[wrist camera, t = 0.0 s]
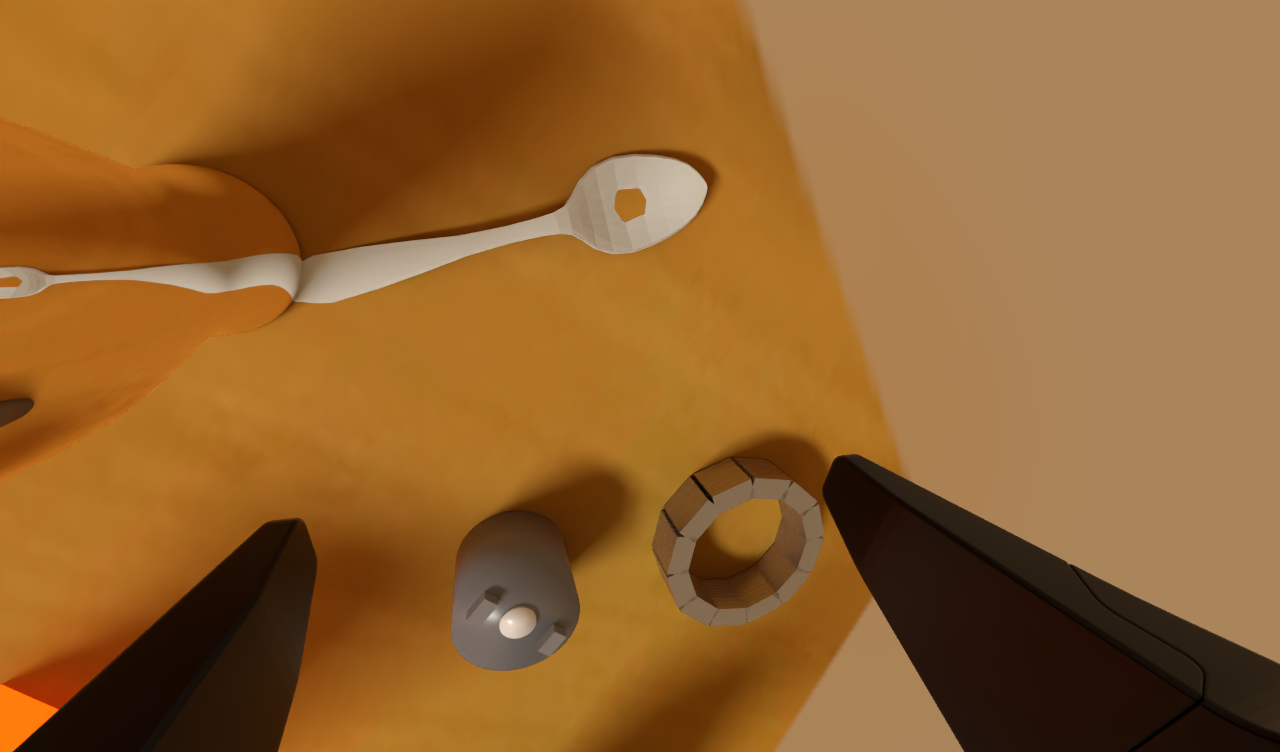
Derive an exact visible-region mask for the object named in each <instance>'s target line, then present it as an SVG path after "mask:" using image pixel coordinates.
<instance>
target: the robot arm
mask: <svg viewBox="0 0 1280 752" xmlns="http://www.w3.org/2000/svg"><path fill="white" fill-rule="evenodd" d="M822 493H823V498H824V500H825V502H826V504H827V506H828V509H829V511H830V513H831V515H832V517H833V519H834V521H835V523H836V526H837V528H838V530H839V532H840V534H841V536H842V538H843V540H844V543H845V545H846V547H847V549H848V551H849V553H850V555H851V557H852V559H853V561H854V563H855V565H856V567H857V569H858V571H859V573H860V575H861V577H862V578H863V580H864V582H865V584H866V585H867V587H868V589H869V590H870V592H871V594H872V596H873V597H874V599H875V601H876V602H877V604H878V606H879V607H880V609H881V611H882V613H883V614H884V616H885V617H886V619H887V621H888V623H889V624H890V626H891V628H892V630H893V631H894V633H895V635H896V636H897V638H898V640H899V641H900V643H901V645H902V647H903V648H904V650H905V651H906V653H907V655H908V657H909V659H910V660H911V662H912V664H913V665H914V667H915V669H916V670H917V672H918V674H919V676H920V677H921V679H922V681H923V682H924V684H925V686H926V687H927V689H928V691H929V692H930V694H931V696H932V698H933V699H934V701H935V703H936V704H937V706H938V708H939V710H940V711H941V713H942V715H943V716H944V718H945V720H946V721H947V723H948V725H949V727H950V728H951V730H952V732H953V733H954V735H955V737H956V739H957V740H958V742H959V744H960V745H961V747H962V749H963V750H964V752H1280V664H1279V663H1277V662H1275V661H1272V660H1270V659H1268V658H1266V657H1264V656H1262V655H1259V654H1257V653H1255V652H1253V651H1251V650H1249V649H1247V648H1244V647H1242V646H1240V645H1238V644H1236V643H1234V642H1231V641H1229V640H1227V639H1225V638H1223V637H1221V636H1218V635H1216V634H1214V633H1212V632H1210V631H1208V630H1206V629H1203V628H1201V627H1199V626H1197V625H1195V624H1192V623H1190V622H1188V621H1186V620H1184V619H1182V618H1179V617H1177V616H1175V615H1173V614H1171V613H1169V612H1167V611H1165V610H1163V609H1161V608H1159V607H1156V606H1154V605H1152V604H1150V603H1148V602H1146V601H1144V600H1142V599H1139V598H1137V597H1135V596H1133V595H1131V594H1129V593H1127V592H1125V591H1123V590H1121V589H1119V588H1117V587H1115V586H1113V585H1111V584H1109V583H1107V582H1105V581H1103V580H1101V579H1099V578H1097V577H1095V576H1093V575H1092V574H1090V573H1087V572H1086V571H1084V570H1082V569H1080V568H1078V567H1076V566H1074V565H1072V564H1068V563H1067V562H1066V561H1064V560H1062V559H1060V558H1058V557H1057V556H1054V555H1053V554H1051V553H1048V552H1047V551H1045V550H1043V549H1041V548H1039V547H1037V546H1035V545H1033V544H1031V543H1029V542H1027V541H1025V540H1023V539H1021V538H1020V537H1018V536H1015V535H1014V534H1012V533H1009V532H1007V531H1006V530H1004V529H1002V528H1000V527H998V526H996V525H994V524H992V523H990V522H988V521H986V520H984V519H983V518H981V517H979V516H977V515H975V514H973V513H971V512H969V511H967V510H965V509H963V508H961V507H959V506H957V505H955V504H953V503H951V502H949V501H947V500H946V499H944V498H942V497H940V496H938V495H936V494H934V493H932V492H930V491H928V490H926V489H924V488H922V487H920V486H918V485H916V484H914V483H913V482H911V481H909V480H907V479H905V478H903V477H901V476H899V475H897V474H895V473H893V472H891V471H889V470H887V469H885V468H883V467H881V466H879V465H878V464H876V463H874V462H872V461H870V460H868V459H866V458H864V457H862V456H860V455H857V454H850V455H841V456H838V457H836V458H835V459H834V461H833V463H832V465H831V467H830V470H829V472H828V475H827V477H826V479H825V482H824V484H823V488H822ZM316 573H317V557H316V553H315V550H314V547H313V544H312V541H311V538H310V535H309V532H308V530H307V527H306V524H305V522H304V521H303V520H302V519H300V518H290V519H282V520H273V521H269V522H267V523H265V524H263V525H262V526H261V527H260V528H259V529H257V530H256V531H255V532H254V533H253V534H252V535H251V536H250V537H249V538H247V539H246V540H245V541H244V542H243V543H242V544H241V545H240V546H239V547H238V548H236V549H235V550H234V551H233V552H232V553H231V554H230V555H229V556H228V557H227V558H225V559H224V560H223V561H222V562H221V563H220V564H219V565H218V566H217V567H215V568H214V569H213V570H212V571H211V572H210V573H209V574H208V575H207V576H206V577H204V578H203V579H202V580H201V581H200V582H199V583H198V584H197V585H196V586H195V587H193V588H192V589H191V590H190V591H189V592H188V593H187V594H186V595H185V596H183V597H182V598H181V599H180V600H179V601H178V602H177V603H176V604H175V605H174V606H172V607H171V608H170V609H169V610H168V611H167V612H166V613H165V614H164V615H163V616H161V617H160V618H159V619H158V620H157V621H156V622H155V623H154V624H153V625H152V626H150V627H149V628H148V629H147V630H146V631H145V632H144V633H143V634H142V635H140V636H139V637H138V638H137V639H136V640H135V641H134V642H133V643H132V644H131V645H129V646H128V647H127V648H126V649H125V650H124V651H123V652H122V653H121V654H120V655H118V656H117V657H116V658H115V659H114V660H113V661H112V662H111V663H110V664H108V665H107V666H106V667H105V668H104V669H103V670H102V671H101V672H100V673H99V674H97V675H96V676H95V677H94V678H93V679H92V680H91V681H90V682H89V683H88V684H86V685H85V686H84V687H83V688H82V689H81V690H80V691H79V692H78V693H76V694H75V695H74V696H73V697H72V698H71V699H70V700H69V701H68V702H67V703H65V704H64V705H63V706H62V707H61V708H60V709H59V710H58V711H57V712H56V713H54V714H53V715H52V716H51V717H50V718H49V719H48V720H47V721H46V722H44V723H43V724H42V725H41V726H40V727H39V728H38V729H37V730H36V731H35V732H33V733H32V734H31V735H30V736H29V737H28V738H27V739H26V740H25V741H24V742H22V743H21V744H20V745H19V746H18V747H17V748H16V749H15V750H14V751H12V752H278V749H279V746H280V743H281V739H282V736H283V732H284V729H285V725H286V722H287V718H288V715H289V711H290V708H291V705H292V701H293V697H294V694H295V690H296V686H297V682H298V677H299V672H300V667H301V662H302V656H303V650H304V644H305V638H306V632H307V626H308V620H309V614H310V608H311V602H312V596H313V591H314V585H315V579H316Z"/></svg>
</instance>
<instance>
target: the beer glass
mask: <svg viewBox="0 0 1280 752" xmlns="http://www.w3.org/2000/svg"><path fill="white" fill-rule="evenodd" d="M301 275H302V259H301V252H300V248H299V245H298V242H297V239H296V237H295V234H294V232H293V230H292V228H291V227H290V225H289V223H288V222H287V220H286V219H285V217H284V216H283V215H282V213H281V212H280V211H279V210H278V209H277V208H276V207H275V206H274V205H273V204H272V203H271V202H270V201H269V200H268V199H267V198H266V197H265V196H264V195H262V194H261V193H260V192H258V191H257V190H256V189H254V188H253V187H251V186H250V185H248V184H246V183H245V182H243V181H241V180H239V179H237V178H235V177H233V176H231V175H228V174H226V173H223V172H220V171H218V170H214V169H211V168H207V167H202V166H196V165H187V164H162V165H153V166H147V167H142V168H136V169H134V168H131V167H128V166H126V165H123V164H121V163H118V162H116V161H114V160H111V159H109V158H107V157H104V156H102V155H99V154H97V153H95V152H92V151H90V150H87V149H85V148H82V147H80V146H77V145H75V144H72V143H70V142H67V141H65V140H62V139H60V138H57V137H55V136H52V135H50V134H47V133H45V132H42V131H40V130H37V129H34V128H31V127H28V126H25V125H22V124H19V123H17V122H14V121H11V120H8V119H5V118H2V117H0V483H1V482H3V481H5V480H7V479H9V478H11V477H13V476H15V475H17V474H19V473H21V472H23V471H25V470H26V469H28V468H30V467H32V466H34V465H36V464H38V463H40V462H42V461H44V460H46V459H48V458H50V457H52V456H54V455H56V454H58V453H60V452H62V451H64V450H65V449H67V448H69V447H70V446H72V445H74V444H75V443H77V442H79V441H80V440H82V439H84V438H85V437H87V436H89V435H90V434H92V433H94V432H95V431H97V430H98V429H100V428H102V427H103V426H105V425H107V424H108V423H110V422H112V421H113V420H115V419H117V418H118V417H120V416H121V415H123V414H124V413H125V412H127V411H128V410H129V409H131V408H132V407H133V406H135V405H136V404H137V403H138V402H139V401H141V400H142V399H143V398H144V397H146V396H147V395H148V394H149V393H151V392H152V391H153V390H154V389H156V388H157V387H158V386H159V385H161V384H162V383H163V382H164V381H165V380H166V379H168V378H169V377H170V376H171V375H172V374H173V373H174V372H175V371H176V370H177V369H178V368H179V367H180V366H181V365H182V364H183V363H184V362H185V361H186V360H187V359H188V358H189V357H190V356H191V355H192V354H193V353H194V352H195V351H196V350H197V349H198V348H199V347H200V346H201V345H202V344H203V343H204V342H205V341H206V340H207V339H209V338H210V337H219V336H229V335H235V334H240V333H245V332H248V331H251V330H254V329H257V328H259V327H262V326H264V325H266V324H268V323H269V322H271V321H273V320H274V319H275V318H277V317H278V316H279V315H280V314H282V313H283V312H284V311H285V310H286V308H287V307H288V306H289V305H290V303H291V302H292V300H293V299H294V297H295V295H296V293H297V291H298V288H299V285H300V281H301Z"/></svg>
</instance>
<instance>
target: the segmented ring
mask: <svg viewBox="0 0 1280 752" xmlns="http://www.w3.org/2000/svg"><path fill="white" fill-rule="evenodd" d="M694 477H695V480H694V479H692V478H691V477H689V478H688V479H687V480H686V481H685V483H684V484H683V485H682V486H681V487H680V488H679V490H678V491H677V492H676V493H675V494H674V495H673V496H672V498H671V499H670V500H669V501H668V502H667V503H666V504H665V506H664V509H665V510H666V511H661V514H660V518H659V522H658V525H657V529H656V533H655V537H654V541H653V545H652V546H653V548H654V549H653V552H654V555H655V558H656V560H657V563H658V566H659V569H660V571H661V574H662V577H663V579H664V581H665V583H666V585H667V587H668V589H669V591H670V593H671V595H672V597H673V599H674V601H675V603H676V605H677V607H678V608H679V609H680V611H681V612H683V613H685V614H687V615H688V616H690V617H692V618H694V619H696V620H697V621H699V622H701V623H703V624H704V625H706V626H707V625H708V624H709V625H710V627H713V626H729V625H745V621H746V620H747V622H748V623H750V622H752V621H754V620H756V619H758V618H760V617H762V616H764V615H765V614H767V613H769V612H771V611H773V610H775V609H777V608H779V607H781V606H782V605H781V601H782V602H784V603H786V602H787V601H788V600H789V598H790V597H791V596H792V595H793V594H794V593H795V592H796V591H797V590H798V588H799V587H800V586H801V585H802V584H803V583H804V582H805V581H806V579H807V578H808V577H809V576H810V574H809V573H808V572H813V569H814V566H815V563H816V560H817V557H818V555H819V552H820V549H821V546H822V543H823V540H824V538H823V537H822V536H823V535H824V529H823V523H822V518H821V512H820V507H819V504H818V503H817V501H816V500H815V499H814V498H813V497H812V496H811V495H809V494H808V493H807V492H806V491H805V490H804V489H803V488H801V487H800V486H799V485H798V484H797V483H796V482H794V481H793V480H792V479H791V478H790V477H788V476H787V475H786V474H785V473H784V472H783V471H781V470H780V469H779V468H778V467H777V466H776V465H774V464H773V463H772V462H771V461H768V460H766V459H753V458H740V457H733V460H731V459H730V458H728V459H725V460H723V461H721V462H719V463H716V464H714V465H712V466H710V467H708V468H705V469H703V470H701V471H699V472H696V473H694ZM752 498H757V499H779V503H780V507H781V512H782V516H783V518H782V521H781V524H780V527H779V530H778V533H777V536H776V539H775V542H774V544H773V545H772V546H771V548H770V549H769V550H768V551H767V552H766V553H765V554H764V555H763V557H762V558H761V559H760V560H759V561H758V562H757V563H756V564H755V566H753V567H751V568H749V569H747V570H745V571H743V572H741V573H739V574H737V575H735V576H733V577H731V578H729V579H711V580H700V579H699V578H697V577H696V576H694V575H692V574H691V573H689V572H688V570H689V566H690V563H691V559H692V556H693V552H694V548H695V545H696V541H697V539H698V538H699V537H700V536H701V535H702V534H703V533H704V531H705V530H706V529H707V528H708V527H709V526H710V525H711V524H712V522H713V521H714V520H715V519H716V518H717V517H718V516H719V514H720V513H722V512H724V511H726V510H728V509H731V508H733V507H735V506H737V505H739V504H741V503H743V502H745V501H748V500H750V499H752ZM780 600H781V601H780Z"/></svg>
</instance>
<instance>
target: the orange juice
mask: <svg viewBox="0 0 1280 752" xmlns="http://www.w3.org/2000/svg"><path fill="white" fill-rule="evenodd" d="M57 711H58V709H56V708H54V707H51V706H49V705H47V704H45V703H42V702H40V701H38V700H36V699H33V698H31V697H29V696H27V695H24V694H22V693H20V692H18V691H15V690H13V689H11V688H8V687H6V686H4V685H2V684H1V685H0V752H12V751H14V750H15V749H16V748H17V747H18V746H19V745H20V744H21V743H22V742H24V741H25V740H26V739H27V738H28V737H29V736H30V735H31V734H32V733H33V732H35V731H36V730H37V729H38V728H39V727H40V726H41V725H42V724H43V723H44V722H46V721H47V720H48V719H49V718H50V717H51V716H52V715H53V714H54V713H56V712H57Z"/></svg>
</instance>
